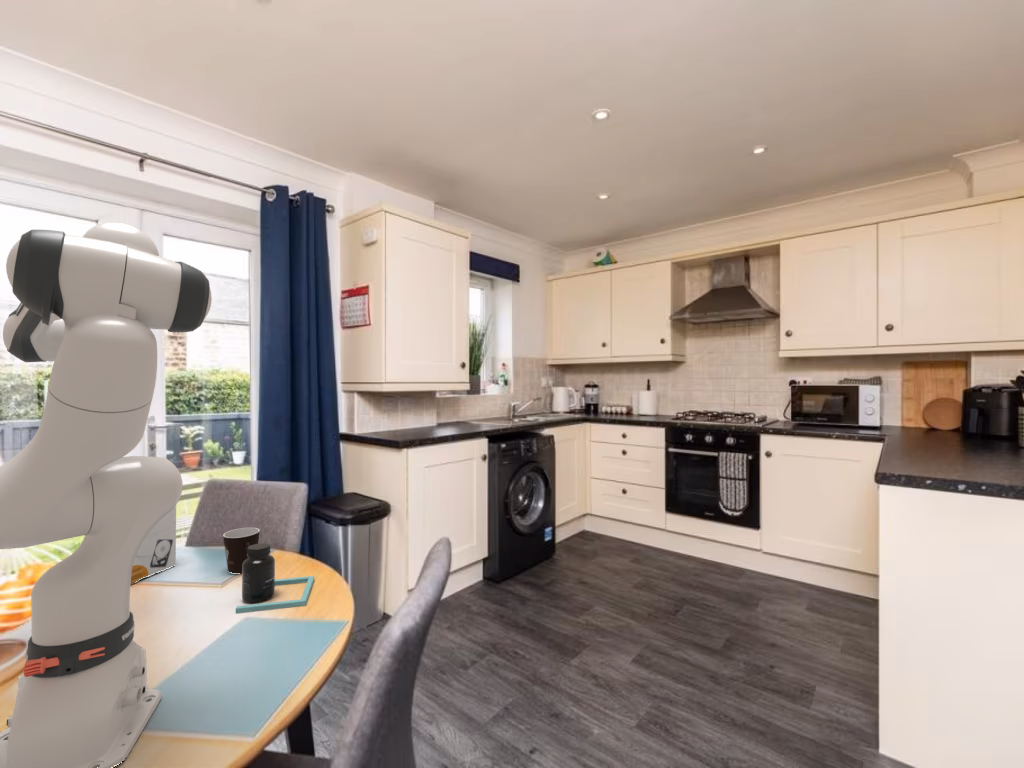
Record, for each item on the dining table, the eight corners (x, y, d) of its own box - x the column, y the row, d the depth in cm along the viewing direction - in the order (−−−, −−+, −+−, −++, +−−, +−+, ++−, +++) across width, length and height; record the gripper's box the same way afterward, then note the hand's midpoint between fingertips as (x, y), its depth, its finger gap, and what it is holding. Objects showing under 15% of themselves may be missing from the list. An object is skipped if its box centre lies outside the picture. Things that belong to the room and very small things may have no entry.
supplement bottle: (274, 600, 112) (274, 549, 112) (240, 606, 109) (240, 553, 109) (275, 588, 118) (275, 540, 118) (243, 593, 115) (243, 543, 115)
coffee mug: (228, 565, 133) (227, 529, 133) (262, 561, 135) (262, 526, 135) (215, 582, 122) (215, 543, 121) (254, 578, 124) (253, 539, 124)
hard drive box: (121, 590, 117) (120, 508, 117) (95, 587, 119) (94, 506, 119) (177, 565, 133) (176, 493, 132) (154, 563, 134) (153, 492, 134)
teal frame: (305, 605, 109) (305, 601, 109) (235, 613, 106) (235, 608, 106) (314, 579, 123) (314, 575, 123) (252, 585, 120) (252, 581, 120)
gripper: (100, 377, 95) (102, 448, 94) (122, 380, 112) (123, 440, 112) (57, 378, 91) (59, 451, 91) (86, 381, 109) (88, 442, 109)
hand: (94, 445), depth 102 cm, fingers closed
